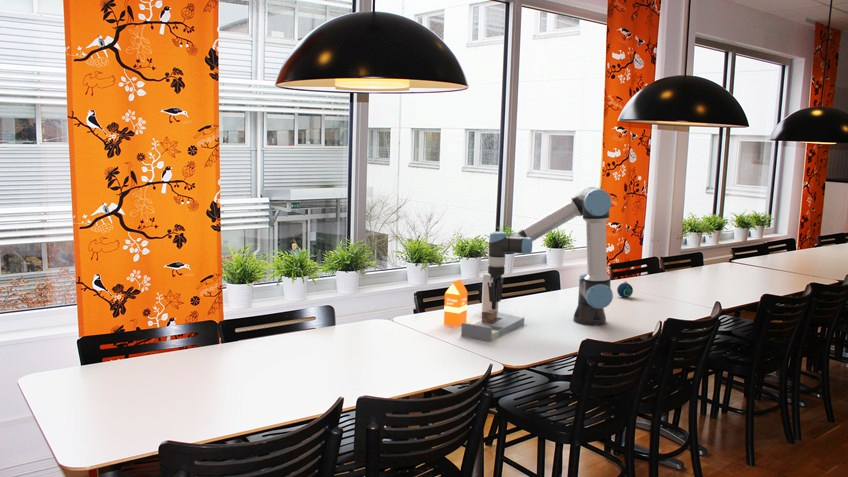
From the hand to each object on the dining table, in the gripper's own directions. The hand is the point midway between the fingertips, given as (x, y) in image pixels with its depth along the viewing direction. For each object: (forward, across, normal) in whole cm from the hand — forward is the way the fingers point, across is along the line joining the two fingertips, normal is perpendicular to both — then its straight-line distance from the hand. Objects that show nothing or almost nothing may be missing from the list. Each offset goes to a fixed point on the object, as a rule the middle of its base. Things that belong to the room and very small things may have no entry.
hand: (494, 315), depth 307 cm
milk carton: (+5, -21, -12) cm, 25 cm away
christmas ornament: (+5, -98, +34) cm, 104 cm away
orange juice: (+5, +7, -16) cm, 19 cm away
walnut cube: (+1, +7, +1) cm, 7 cm away
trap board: (+4, +7, +4) cm, 9 cm away
